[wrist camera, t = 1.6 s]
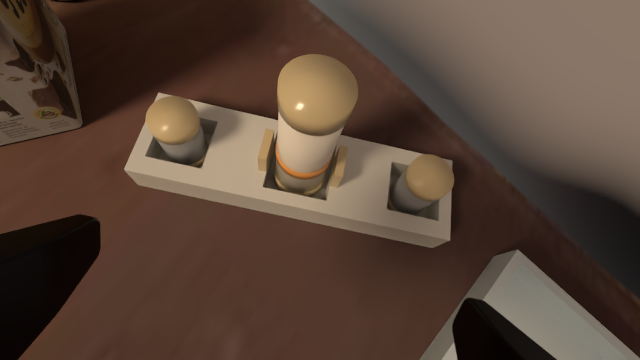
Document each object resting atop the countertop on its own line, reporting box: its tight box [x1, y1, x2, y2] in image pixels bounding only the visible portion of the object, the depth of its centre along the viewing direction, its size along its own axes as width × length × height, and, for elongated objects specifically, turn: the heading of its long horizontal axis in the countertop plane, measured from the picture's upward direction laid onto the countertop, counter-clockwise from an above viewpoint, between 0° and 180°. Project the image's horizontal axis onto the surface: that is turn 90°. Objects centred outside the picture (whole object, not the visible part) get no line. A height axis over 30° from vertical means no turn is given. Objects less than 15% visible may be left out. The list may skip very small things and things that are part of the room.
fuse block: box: [124, 93, 452, 248], centre depth 22 cm, size 6×20×4 cm, turn 80°
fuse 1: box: [146, 96, 209, 168], centre depth 21 cm, size 3×3×4 cm
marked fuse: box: [274, 54, 358, 197], centre depth 19 cm, size 3×3×10 cm
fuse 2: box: [387, 154, 454, 216], centre depth 22 cm, size 3×3×4 cm
